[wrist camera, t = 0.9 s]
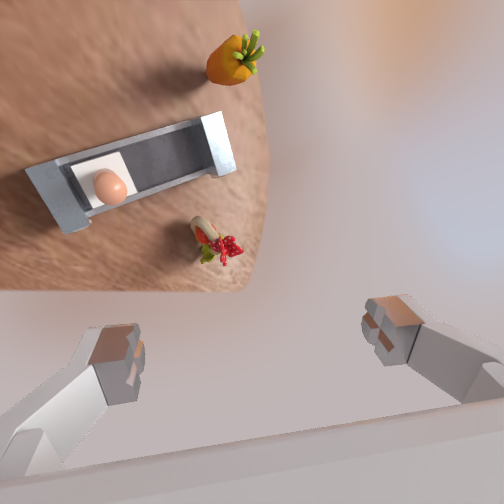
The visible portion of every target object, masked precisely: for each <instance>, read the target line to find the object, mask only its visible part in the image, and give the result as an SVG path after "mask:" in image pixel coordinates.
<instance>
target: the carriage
mask: <svg viewBox="0 0 504 504" xmlns="http://www.w3.org/2000/svg"><path fill="white" fill-rule="evenodd" d="M71 168H72V170H73V172H74V174H75V176H76V178H77V180H78V181H79V183H80V185H81V187H82V189H83V191H84V193H85V194H86V196H87V198H88V200H89V202H90V204H91V206H92V208H93V209H94V208H97V207H99V206H102V205H105V204H107V205H118V204H120V203H122V202H123V201H124V200H125V199H126V197H127V196H130V195H133V194H136V193H138V192H137V190H136V188H135V185H134V183H133V181H132V179H131V176H130V174H129V172H128V170H127V168H126V165H125V163H124V161H123V159H122V156H121V154H120V152H119V151H116V152H113V153H110V154H106V155H103V156H100V157H96V158H93V159H90V160H87V161H83V162H80V163H77V164H74V165H71Z"/></svg>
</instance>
